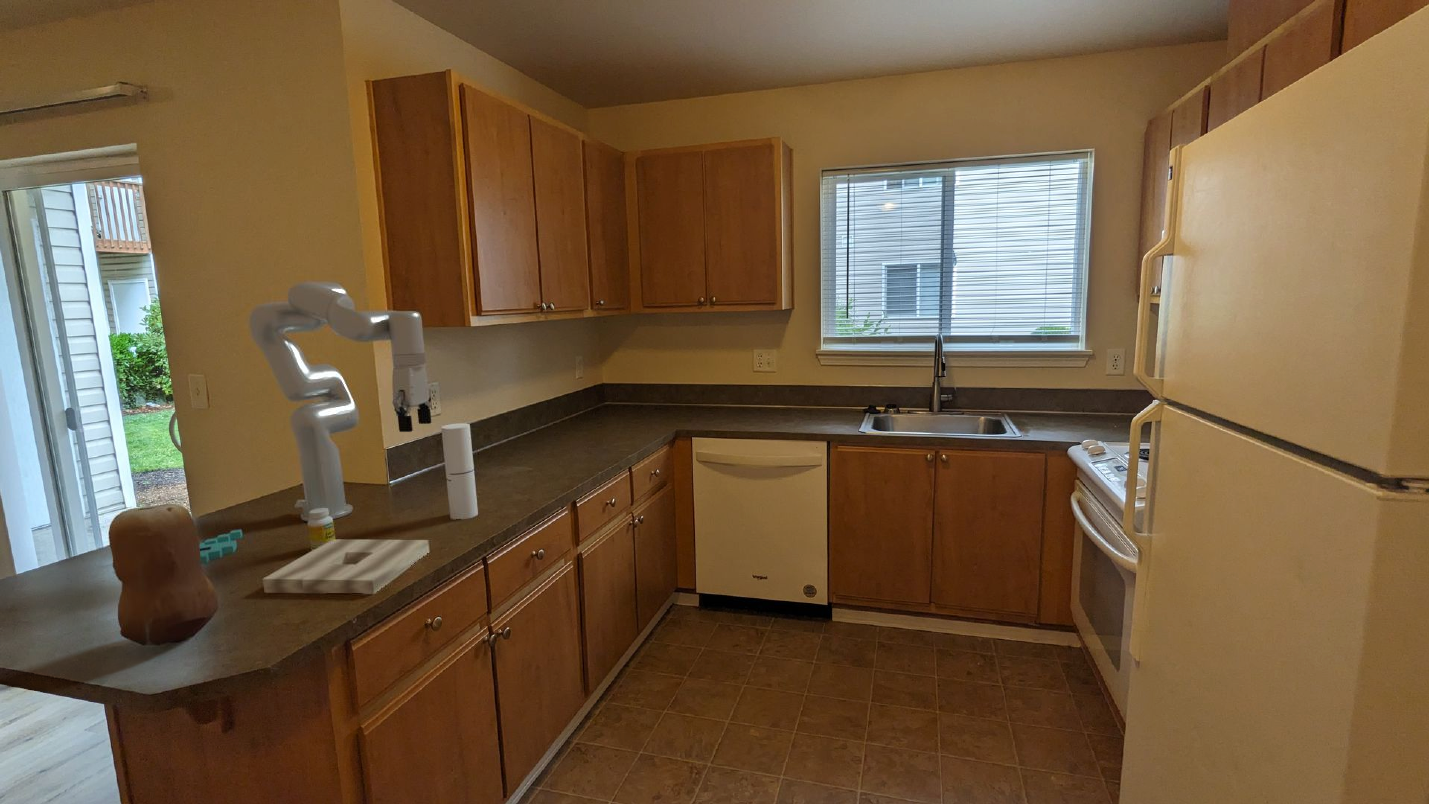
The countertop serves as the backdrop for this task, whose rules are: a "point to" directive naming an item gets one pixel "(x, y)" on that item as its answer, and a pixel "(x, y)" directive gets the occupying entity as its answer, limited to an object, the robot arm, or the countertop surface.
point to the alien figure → (219, 546)
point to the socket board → (347, 567)
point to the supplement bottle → (320, 527)
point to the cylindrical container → (459, 470)
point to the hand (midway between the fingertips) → (415, 427)
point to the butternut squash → (160, 575)
